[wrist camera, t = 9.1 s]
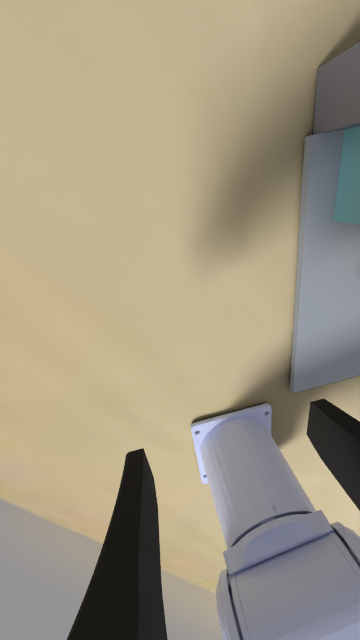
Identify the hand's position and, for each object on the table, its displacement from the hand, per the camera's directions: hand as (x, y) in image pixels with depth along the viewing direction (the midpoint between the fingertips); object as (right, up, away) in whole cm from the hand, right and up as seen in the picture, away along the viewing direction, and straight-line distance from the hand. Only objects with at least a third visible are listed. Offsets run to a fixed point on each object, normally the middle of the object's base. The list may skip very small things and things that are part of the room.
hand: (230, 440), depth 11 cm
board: (+12, +8, +10) cm, 17 cm away
